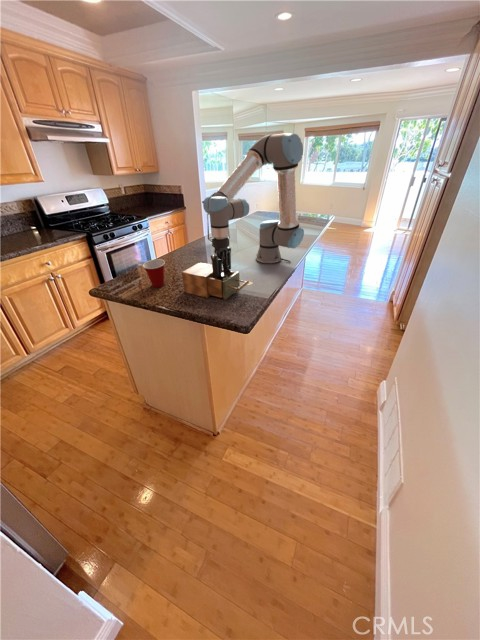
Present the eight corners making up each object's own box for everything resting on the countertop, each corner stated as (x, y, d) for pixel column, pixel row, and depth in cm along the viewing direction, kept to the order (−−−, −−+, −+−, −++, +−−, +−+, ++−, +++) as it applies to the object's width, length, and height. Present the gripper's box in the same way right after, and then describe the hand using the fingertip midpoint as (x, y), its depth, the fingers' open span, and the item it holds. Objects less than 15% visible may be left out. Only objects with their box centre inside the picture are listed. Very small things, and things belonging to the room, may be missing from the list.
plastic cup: (142, 288, 135) (137, 265, 128) (155, 279, 143) (151, 258, 137) (160, 291, 131) (156, 267, 125) (173, 282, 140) (169, 260, 134)
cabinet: (223, 286, 135) (222, 266, 129) (207, 297, 124) (205, 276, 119) (201, 281, 140) (199, 262, 135) (184, 292, 130) (181, 272, 124)
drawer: (251, 290, 127) (251, 273, 123) (237, 302, 118) (237, 284, 113) (218, 284, 135) (217, 267, 130) (203, 294, 125) (201, 277, 121)
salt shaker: (219, 285, 128) (218, 272, 125) (228, 286, 128) (228, 272, 124) (217, 289, 124) (216, 276, 121) (227, 290, 124) (226, 276, 120)
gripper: (223, 231, 121) (226, 279, 134) (201, 241, 109) (206, 292, 121) (237, 233, 118) (239, 281, 131) (216, 243, 105) (220, 296, 118)
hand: (223, 287), depth 126 cm, fingers closed on salt shaker, 4 cm apart
